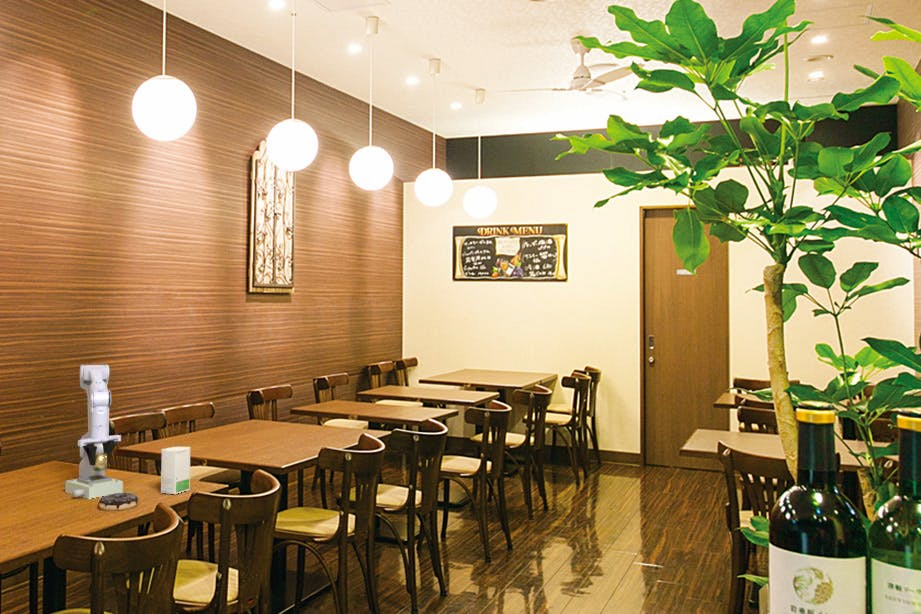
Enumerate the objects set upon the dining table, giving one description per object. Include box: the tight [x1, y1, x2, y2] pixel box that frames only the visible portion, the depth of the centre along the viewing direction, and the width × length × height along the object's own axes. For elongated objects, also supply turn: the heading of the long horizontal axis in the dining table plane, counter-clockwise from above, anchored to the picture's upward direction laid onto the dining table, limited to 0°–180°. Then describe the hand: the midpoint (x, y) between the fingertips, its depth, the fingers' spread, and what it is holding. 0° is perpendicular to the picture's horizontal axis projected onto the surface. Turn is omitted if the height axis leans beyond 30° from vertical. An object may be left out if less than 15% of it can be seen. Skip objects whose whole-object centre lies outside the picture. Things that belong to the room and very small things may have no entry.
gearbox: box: [64, 475, 124, 500], centre depth 256 cm, size 16×15×5 cm
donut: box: [97, 492, 139, 512], centre depth 239 cm, size 11×12×4 cm
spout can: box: [93, 453, 108, 471], centre depth 257 cm, size 6×4×6 cm
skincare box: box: [160, 446, 191, 496], centre depth 260 cm, size 8×7×16 cm
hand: (99, 464), depth 258 cm, fingers closed on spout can, 4 cm apart
